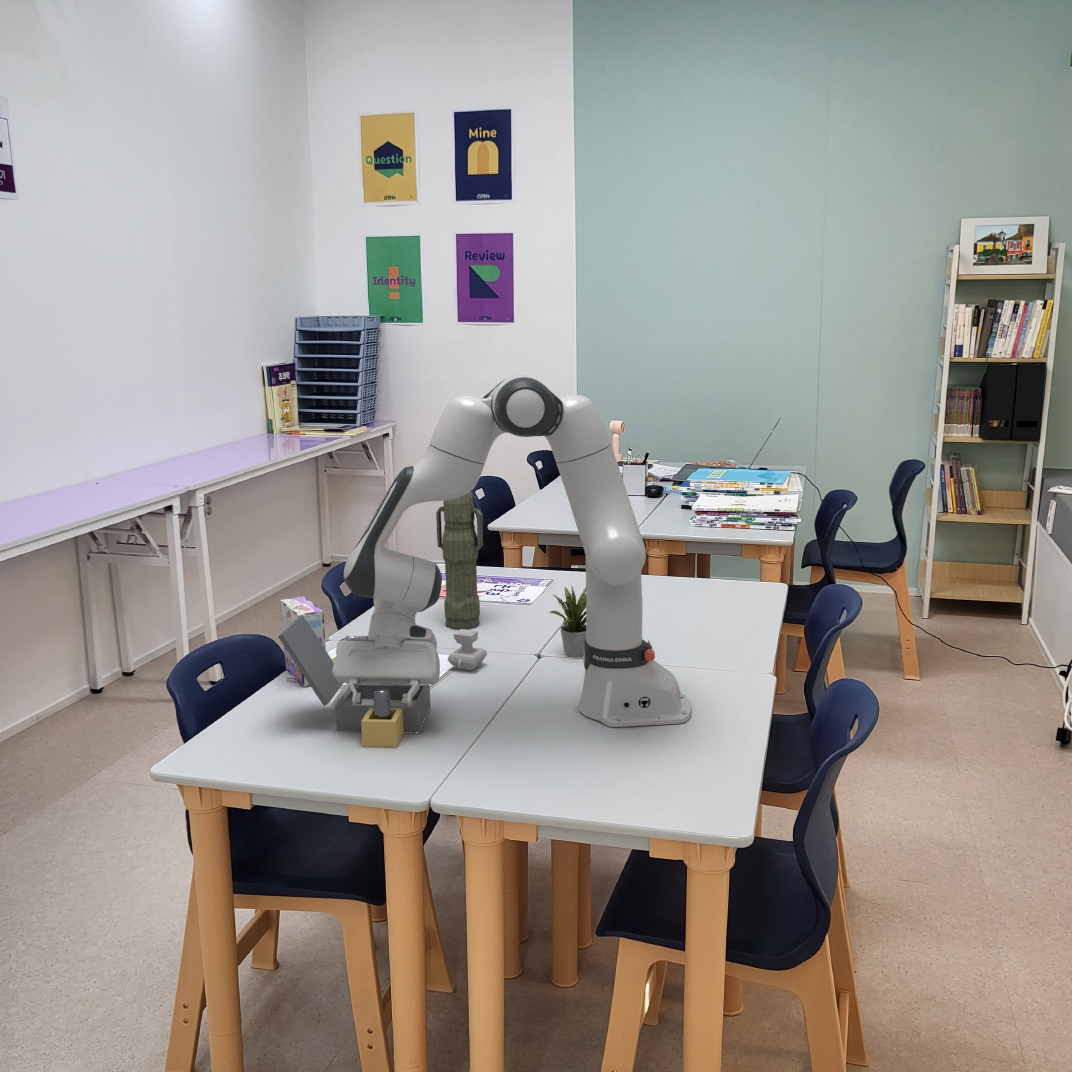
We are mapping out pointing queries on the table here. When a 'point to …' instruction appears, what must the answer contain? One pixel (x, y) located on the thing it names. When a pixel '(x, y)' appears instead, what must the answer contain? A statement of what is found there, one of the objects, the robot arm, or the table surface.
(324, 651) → the case lid
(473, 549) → the thermos
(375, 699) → the rod
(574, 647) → the house plant
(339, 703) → the case
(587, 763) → the table surface
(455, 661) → the stamp
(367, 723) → the frame
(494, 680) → the table surface
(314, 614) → the candy box
